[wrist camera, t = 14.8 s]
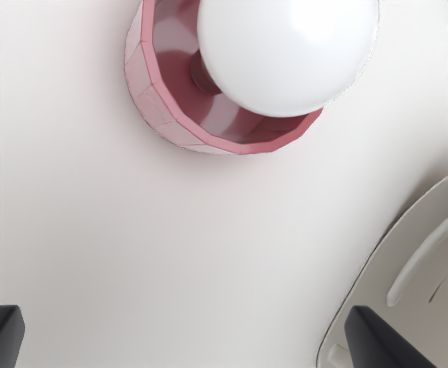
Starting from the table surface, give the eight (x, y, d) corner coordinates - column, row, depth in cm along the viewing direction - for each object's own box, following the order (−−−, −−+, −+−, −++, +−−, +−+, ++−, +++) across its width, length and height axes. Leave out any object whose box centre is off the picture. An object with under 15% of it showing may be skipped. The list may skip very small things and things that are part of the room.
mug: (282, 146, 23) (340, 145, 18) (132, 159, 19) (152, 163, 14) (272, -60, 21) (333, -125, 16) (106, -89, 17) (118, -185, 12)
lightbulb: (178, -9, 19) (298, -195, 9) (272, 49, 21) (449, -42, 11) (136, 99, 18) (208, 39, 8) (236, 145, 21) (384, 142, 11)
